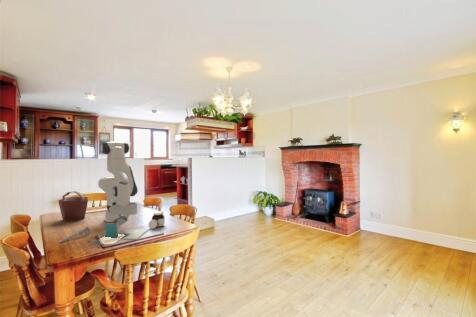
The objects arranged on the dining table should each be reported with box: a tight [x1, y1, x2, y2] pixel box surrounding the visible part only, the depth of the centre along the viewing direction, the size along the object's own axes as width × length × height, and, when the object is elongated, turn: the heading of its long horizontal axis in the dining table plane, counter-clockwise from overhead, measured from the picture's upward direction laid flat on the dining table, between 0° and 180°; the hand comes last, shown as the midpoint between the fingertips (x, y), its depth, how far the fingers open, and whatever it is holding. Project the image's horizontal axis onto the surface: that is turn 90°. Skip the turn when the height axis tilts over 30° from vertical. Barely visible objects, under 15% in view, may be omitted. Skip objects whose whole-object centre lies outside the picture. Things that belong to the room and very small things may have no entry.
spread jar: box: [148, 211, 166, 230], centre depth 194 cm, size 12×11×12 cm
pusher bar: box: [112, 215, 129, 228], centre depth 180 cm, size 16×3×5 cm, turn 0°
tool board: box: [123, 228, 149, 241], centre depth 174 cm, size 20×9×1 cm, turn 0°
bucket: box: [58, 191, 89, 222], centre depth 218 cm, size 24×22×25 cm
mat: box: [89, 232, 129, 246], centre depth 166 cm, size 22×16×1 cm
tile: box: [104, 222, 119, 238], centre depth 168 cm, size 2×8×10 cm, turn 90°
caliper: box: [58, 226, 91, 244], centre depth 167 cm, size 20×1×6 cm, turn 153°
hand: (123, 220), depth 185 cm, fingers closed on pusher bar, 3 cm apart
